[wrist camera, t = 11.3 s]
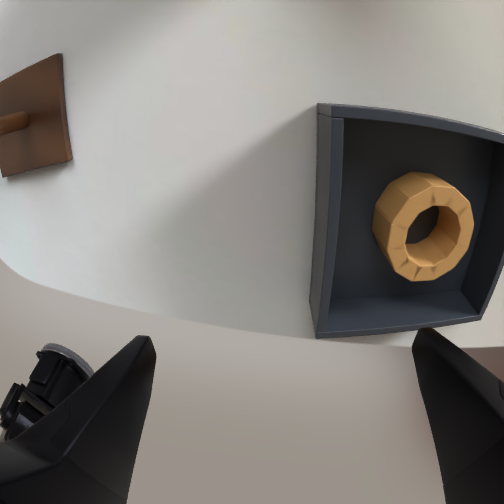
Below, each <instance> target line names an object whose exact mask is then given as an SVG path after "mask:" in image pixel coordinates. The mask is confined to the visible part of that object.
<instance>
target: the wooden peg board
mask: <svg viewBox="0 0 504 504" xmlns="http://www.w3.org/2000/svg"><path fill="white" fill-rule="evenodd" d="M71 159H72V153H71V147H70V140H69V133H68V126H67V118H66V109H65V99H64V87H63V70H62V54H59V53H57V54H55V55H52V56H50V57H48V58H46V59H44V60H41V61H39V62H37V63H35V64H33V65H31V66H29V67H27V68H25V69H23V70H21V71H20V72H18V73H16V74H14V75H12V76H10V77H9V78H7V79H5V80H3V81H2V82H0V168H1V173H2V177H3V178H4V177H7V176H11V175H14V174H18V173H21V172H25V171H28V170H32V169H36V168H40V167H44V166H48V165H52V164H57V163H61V162H66V161H69V160H71Z"/></svg>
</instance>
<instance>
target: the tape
mask: <svg viewBox="0 0 504 504" xmlns="http://www.w3.org/2000/svg"><path fill="white" fill-rule="evenodd" d="M431 206H438V208H439V216H438V220H437V225H436V226H435V228H434V229H433V230H432V232H431V233H430V234H429V236H428V237H427V238H425V239H423V240H421V241H420V242H418V243H416V244H405V242H406V237H407V232H408V228H409V227H410V225H411V224H412V222H413V221H414V220H415V218H416V217H417V215H418V214H419V213H421V212H422V211H424V210H426V209H428V208H430V207H431ZM473 228H474V220H473V215H472V210H471V205H470V202H469V201H468V200H467V199H466V198H465V197H464V196H463V195H462V194H461V193H460V192H459V191H458V190H457V189H456V188H455V187H453V186H452V185H450V184H448V183H447V182H445V181H444V180H442V179H440V178H439V177H437V176H435V175H434V174H432V173H424V172H412V171H411V172H409V173H407V174H405V175H403V176H401V177H400V178H398V179H396V180H394V181H392V182H390V184H388V186H387V187H386V189H385V190H384V192H383V193H382V195H381V196H380V198H379V199H378V201H377V202H376V204H375V208H374V216H373V224H372V231H373V233H374V235H375V238H376V240H377V242H378V245H379V247H380V249H381V250H382V252H383V254H384V255H385V257H386V258H387V260H388V261H389V263H390V265H391V266H392V268H393V269H394V271H395V272H396V273H398V274H400V275H401V276H403V277H405V278H406V279H408V280H410V281H429V280H434V279H436V278H438V277H440V276H441V275H443V274H445V273H446V272H448V271H450V270H451V269H453V268H454V267H455V266H456V264H457V263H458V262H459V260H460V259H461V258H462V256H463V255H464V254H465V252H466V251H467V250H468V247H469V243H470V240H471V236H472V232H473Z"/></svg>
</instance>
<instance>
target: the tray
mask: <svg viewBox="0 0 504 504" xmlns="http://www.w3.org/2000/svg"><path fill="white" fill-rule="evenodd" d="M411 171H412V172H424V173H432V174H434V175H435V176H437V177H439V178H440V179H442V180H444V181H445V182H447V183H448V184H450V185H452V186H453V187H455V188H456V189H457V190H458V191H459V192H460V193H461V194H462V195H463V196H464V197H465V198H466V199H467V200H468V201H469V202H470V205H471V210H472V215H473V220H474V228H473V232H472V236H471V240H470V243H469V247H468V250H467V251H466V252H465V254H464V255H463V256H462V258H461V259H460V260H459V262H458V263H457V264H456V266H455V267H454V268H453V269H451V270H450V271H448V272H446V273H445V274H443V275H441V276H440V277H438V278H436V279H434V280H429V281H410V280H408V279H406V278H405V277H403V276H401V275H400V274H398V273H396V272H395V271H394V269H393V268H392V266H391V265H390V263H389V261H388V260H387V258H386V257H385V255H384V254H383V252H382V250H381V249H380V247H379V245H378V242H377V240H376V238H375V235H374V233H373V231H372V224H373V216H374V208H375V204H376V202H377V201H378V199H379V198H380V196H381V195H382V193H383V192H384V190H385V189H386V187H387V186H388V184H390V182H392V181H394V180H396V179H398V178H400V177H401V176H403V175H405V174H407V173H409V172H411ZM438 216H439V208H438V206H431V207H430V208H428V209H426V210H424V211H422V212H421V213H419V214H418V215H417V217H416V218H415V220H414V221H413V222H412V224H411V225H410V227H409V228H408V232H407V237H406V242H405V244H416V243H418V242H420V241H421V240H423V239H425V238H427V237H428V236H429V234H430V233H431V232H432V230H433V229H434V228H435V226H436V225H437V220H438ZM503 266H504V133H501V132H498V131H495V130H491V129H487V128H484V127H480V126H476V125H472V124H468V123H464V122H460V121H455V120H451V119H446V118H441V117H436V116H431V115H425V114H420V113H414V112H407V111H400V110H393V109H385V108H377V107H367V106H357V105H344V104H327V103H317V167H316V200H315V223H314V241H313V257H312V271H311V284H310V296H309V303H310V309H311V314H312V320H313V326H314V332H315V338H316V339H320V338H338V337H352V336H365V335H376V334H386V333H396V332H405V331H413V330H419V329H420V328H423V327H431V328H436V327H442V326H449V325H455V324H461V323H467V322H473V321H478V320H481V318H482V316H483V314H484V312H485V310H486V308H487V306H488V303H489V301H490V299H491V296H492V294H493V292H494V289H495V287H496V284H497V282H498V279H499V276H500V274H501V271H502V268H503Z"/></svg>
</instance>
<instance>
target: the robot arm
mask: <svg viewBox="0 0 504 504" xmlns="http://www.w3.org/2000/svg"><path fill="white" fill-rule="evenodd" d="M412 353H413V357H414V362H415V367H416V372H417V377H418V382H419V387H420V391H421V394H422V397H423V401H424V404H425V408H426V411H427V415H428V419H429V423H430V427H431V431H432V434H433V439H434V443H435V447H436V451H437V456H438V461H439V466H440V471H441V476H442V481H443V484H444V485H443V488H444V494H445V501H446V504H504V382H503V381H501V380H500V379H498V378H497V377H496V376H495V375H494V374H492V373H491V372H490V371H489V370H487V369H486V368H485V367H483V366H482V365H481V364H479V363H478V362H477V361H476V360H474V359H473V358H472V357H470V356H469V355H468V354H466V353H465V352H464V351H462V350H461V349H460V348H458V347H457V346H456V345H454V344H453V343H452V342H450V341H449V340H448V339H446V338H445V337H444V336H442V335H441V334H440V333H438V332H437V331H435V330H434V329H433V328H431V327H423V328H420V329H419V330H418V332H417V335H416V337H415V339H414V342H413V344H412ZM36 355H37V357H38V358H39V362H38V364H37V365H36V367H35V368H34V370H33V372H32V374H31V375H30V377H29V379H30V381H29V383H28V385H27V387H25V385H23V384H21V385H19V384H16V383H14V384H13V385H12V387H11V389H10V391H9V392H8V394H7V396H6V398H5V400H4V402H3V404H2V406H1V408H0V415H1V418H0V420H1V422H0V426H1V427H2V428H3V431H2V434H1V436H0V504H126V503H127V497H128V492H129V487H130V483H131V477H132V473H133V468H134V464H135V459H136V455H137V451H138V446H139V442H140V438H141V434H142V430H143V425H144V421H145V418H146V413H147V410H148V406H149V401H150V397H151V391H152V383H153V377H154V370H155V363H156V352H155V349H154V346H153V343H152V341H151V338H150V337H149V336H144V335H143V336H142V335H138V336H136V337H135V338H134V339H133V340H132V341H130V343H128V344H127V345H126V346H125V347H124V348H123V349H121V350H120V351H119V352H118V353H117V354H116V355H115V356H113V357H112V358H111V359H110V360H109V361H108V362H107V363H106V364H104V365H103V366H102V367H101V368H100V369H99V370H98V371H96V372H95V373H94V374H93V375H92V376H91V377H90V378H88V379H86V377H85V376H84V374H83V373H82V371H81V369H80V368H79V366H78V365H77V363H76V361H75V360H74V359H72V358H67V357H63V356H58V355H53V354H49V353H44V352H40V351H38V352H37V353H36ZM18 400H20V401H21V402H18Z"/></svg>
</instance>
